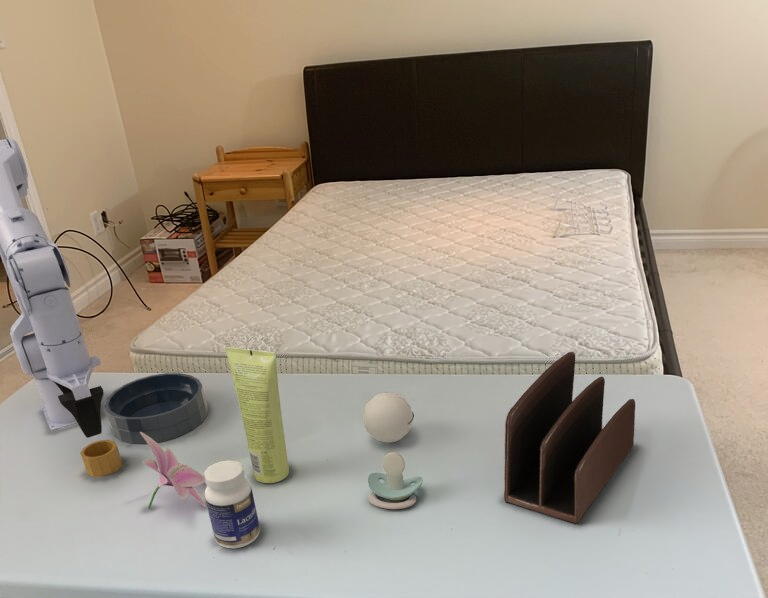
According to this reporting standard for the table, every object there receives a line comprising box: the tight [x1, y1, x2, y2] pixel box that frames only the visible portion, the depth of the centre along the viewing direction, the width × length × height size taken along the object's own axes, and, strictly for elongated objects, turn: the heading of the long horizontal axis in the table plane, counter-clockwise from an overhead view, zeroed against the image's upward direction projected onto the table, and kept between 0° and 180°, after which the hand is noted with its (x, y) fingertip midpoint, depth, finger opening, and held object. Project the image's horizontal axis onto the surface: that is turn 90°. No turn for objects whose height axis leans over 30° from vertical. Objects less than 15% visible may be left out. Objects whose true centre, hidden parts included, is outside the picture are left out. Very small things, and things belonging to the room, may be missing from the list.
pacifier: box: [367, 451, 424, 510], centre depth 98 cm, size 7×6×6 cm
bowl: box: [104, 372, 209, 445], centre depth 123 cm, size 15×15×5 cm
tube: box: [224, 346, 290, 484], centre depth 103 cm, size 6×5×20 cm
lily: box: [140, 432, 207, 510], centre depth 102 cm, size 12×12×10 cm
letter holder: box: [503, 351, 636, 524], centre depth 98 cm, size 10×20×14 cm, turn 145°
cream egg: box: [362, 392, 415, 444], centre depth 112 cm, size 10×7×7 cm
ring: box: [80, 439, 123, 478], centre depth 112 cm, size 5×5×4 cm
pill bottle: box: [203, 460, 261, 549], centre depth 94 cm, size 6×6×10 cm
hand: (88, 423), depth 109 cm, fingers open, 7 cm apart
